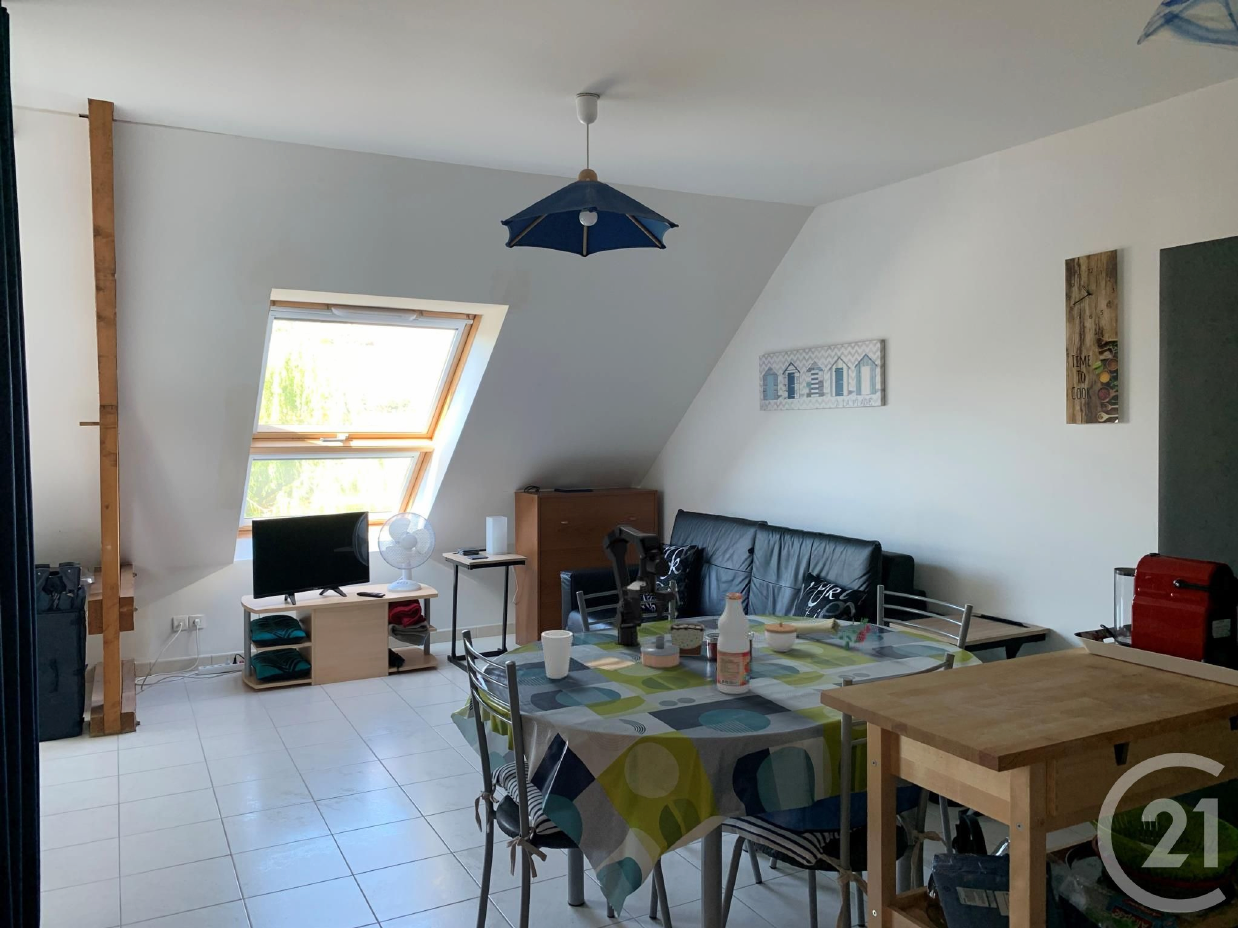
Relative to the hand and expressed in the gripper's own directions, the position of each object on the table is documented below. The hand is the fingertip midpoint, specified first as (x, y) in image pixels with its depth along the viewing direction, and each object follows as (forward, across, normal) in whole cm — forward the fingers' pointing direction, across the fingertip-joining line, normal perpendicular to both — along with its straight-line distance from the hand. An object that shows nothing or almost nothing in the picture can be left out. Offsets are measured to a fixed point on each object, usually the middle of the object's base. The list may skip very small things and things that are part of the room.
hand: (647, 618), depth 308 cm
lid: (+8, +10, -6) cm, 14 cm away
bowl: (+12, +10, -6) cm, 17 cm away
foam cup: (+12, -5, -38) cm, 40 cm away
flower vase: (+12, +40, +52) cm, 67 cm away
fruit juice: (+12, +44, -15) cm, 48 cm away
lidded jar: (+12, +30, +35) cm, 48 cm away
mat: (+12, -1, -18) cm, 22 cm away
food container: (+12, +9, +10) cm, 18 cm away
